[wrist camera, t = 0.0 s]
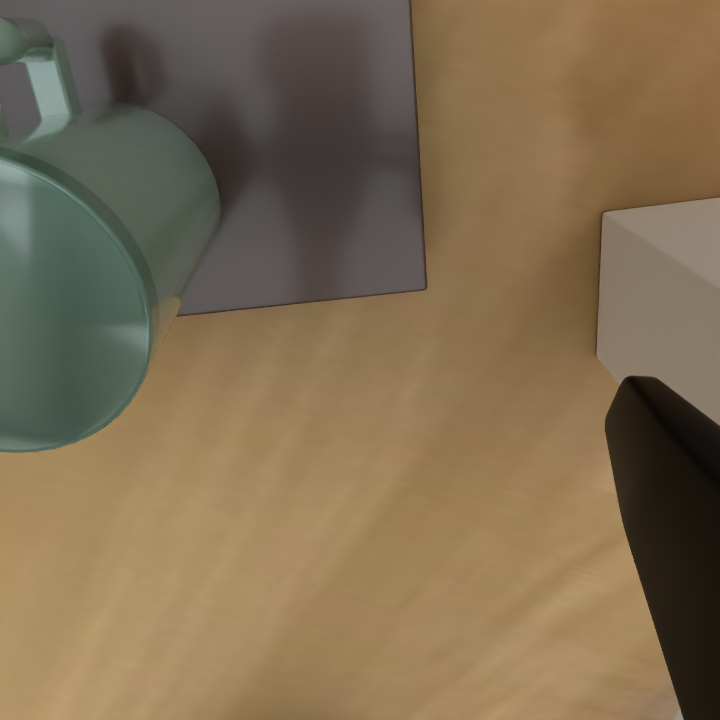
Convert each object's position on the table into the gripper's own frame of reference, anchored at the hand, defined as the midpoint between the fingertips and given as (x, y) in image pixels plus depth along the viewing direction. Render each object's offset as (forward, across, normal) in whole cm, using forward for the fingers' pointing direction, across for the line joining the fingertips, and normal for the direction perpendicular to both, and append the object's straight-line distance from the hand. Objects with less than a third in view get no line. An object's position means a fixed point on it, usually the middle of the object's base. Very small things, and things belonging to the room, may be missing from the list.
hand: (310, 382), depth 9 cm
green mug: (+12, +6, +4) cm, 13 cm away
